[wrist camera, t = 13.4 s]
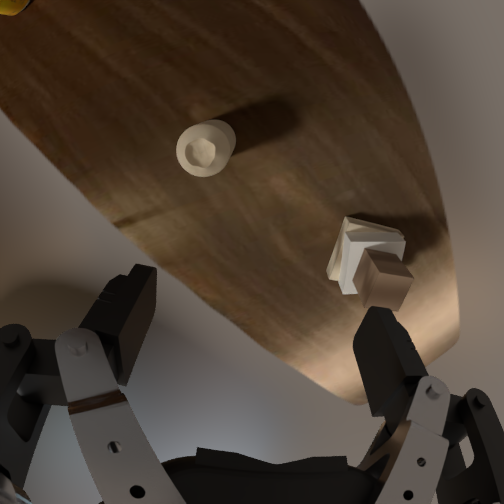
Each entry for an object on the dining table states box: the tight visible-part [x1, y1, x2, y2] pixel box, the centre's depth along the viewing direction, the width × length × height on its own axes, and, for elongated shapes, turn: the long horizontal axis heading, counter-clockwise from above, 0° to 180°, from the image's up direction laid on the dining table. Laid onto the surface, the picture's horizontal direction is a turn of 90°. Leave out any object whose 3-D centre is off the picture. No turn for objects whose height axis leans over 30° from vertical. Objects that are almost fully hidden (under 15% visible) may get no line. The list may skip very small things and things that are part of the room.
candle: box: [176, 120, 236, 177], centre depth 32 cm, size 6×6×10 cm
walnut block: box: [352, 248, 414, 312], centre depth 36 cm, size 5×5×6 cm
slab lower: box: [326, 216, 404, 281], centre depth 43 cm, size 9×9×3 cm
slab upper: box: [338, 232, 406, 294], centre depth 40 cm, size 8×8×3 cm
